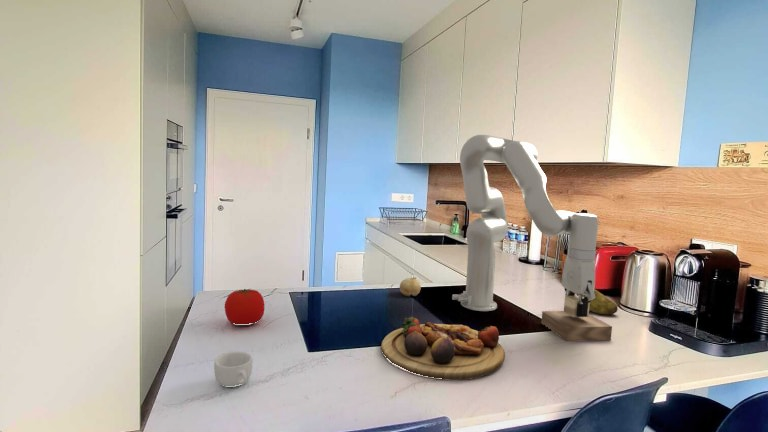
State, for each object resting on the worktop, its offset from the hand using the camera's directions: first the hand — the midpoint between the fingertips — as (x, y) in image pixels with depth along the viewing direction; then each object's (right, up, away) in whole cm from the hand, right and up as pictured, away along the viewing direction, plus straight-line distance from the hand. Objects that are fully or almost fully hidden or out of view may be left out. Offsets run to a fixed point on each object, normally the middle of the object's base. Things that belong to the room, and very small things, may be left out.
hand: (575, 312), depth 128 cm
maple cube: (0, -1, 0) cm, 1 cm away
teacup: (-90, -7, -38) cm, 98 cm away
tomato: (-100, -3, -3) cm, 100 cm away
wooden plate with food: (-43, -7, -17) cm, 47 cm away
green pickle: (+16, -5, +20) cm, 26 cm away
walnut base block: (0, -6, +1) cm, 6 cm away
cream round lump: (-49, -1, +32) cm, 58 cm away
